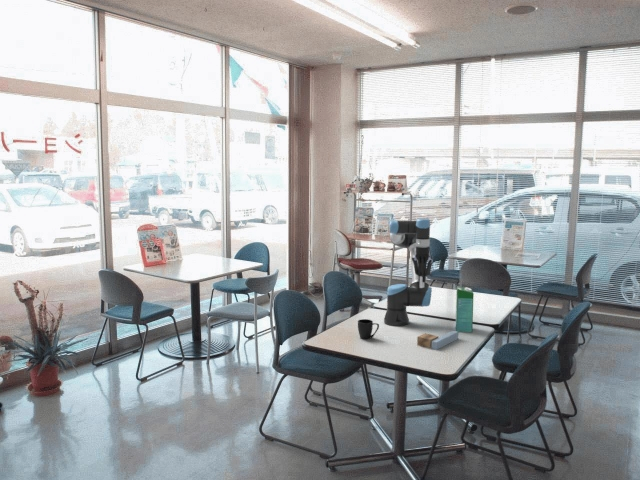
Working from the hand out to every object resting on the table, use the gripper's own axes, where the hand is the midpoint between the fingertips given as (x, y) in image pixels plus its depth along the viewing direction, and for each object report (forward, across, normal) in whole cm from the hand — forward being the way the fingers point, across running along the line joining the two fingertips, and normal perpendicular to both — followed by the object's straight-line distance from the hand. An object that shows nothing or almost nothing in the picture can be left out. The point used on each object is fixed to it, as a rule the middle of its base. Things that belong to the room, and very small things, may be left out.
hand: (421, 287), depth 307 cm
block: (+27, +14, -17) cm, 35 cm away
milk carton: (+27, +16, +21) cm, 38 cm away
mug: (+27, -17, -28) cm, 42 cm away
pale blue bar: (+26, +20, -9) cm, 34 cm away
